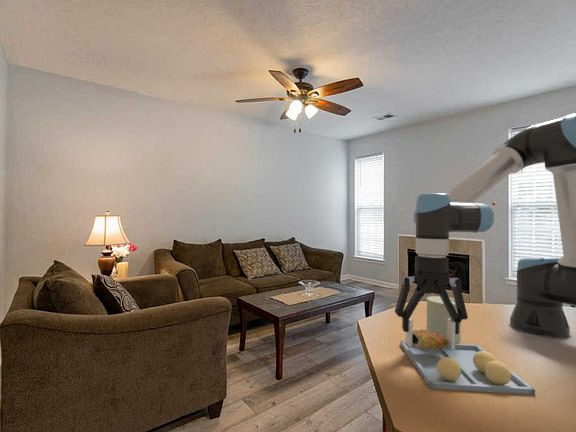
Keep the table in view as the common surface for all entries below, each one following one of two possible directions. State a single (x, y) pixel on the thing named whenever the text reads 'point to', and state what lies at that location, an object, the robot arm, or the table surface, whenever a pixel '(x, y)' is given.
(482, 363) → the ball
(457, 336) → the can
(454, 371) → the ball far
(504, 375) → the ball
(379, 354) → the table surface
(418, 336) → the pastry
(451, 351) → the sorting tray
